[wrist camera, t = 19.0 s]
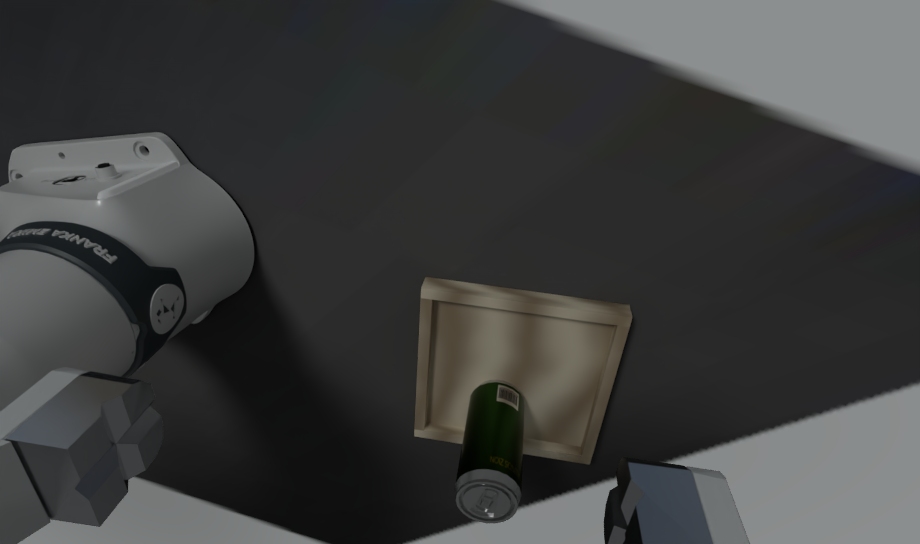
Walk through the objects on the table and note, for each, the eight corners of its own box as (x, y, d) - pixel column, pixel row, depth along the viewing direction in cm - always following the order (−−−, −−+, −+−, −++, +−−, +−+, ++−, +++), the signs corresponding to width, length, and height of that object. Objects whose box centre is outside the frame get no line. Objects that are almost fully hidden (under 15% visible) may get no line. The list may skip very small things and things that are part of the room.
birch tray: (418, 422, 56) (414, 436, 55) (425, 276, 47) (421, 288, 46) (588, 449, 55) (589, 464, 53) (629, 304, 46) (632, 317, 44)
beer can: (479, 370, 51) (463, 471, 40) (532, 386, 51) (530, 492, 40) (463, 409, 53) (445, 513, 43) (514, 424, 54) (508, 532, 43)
